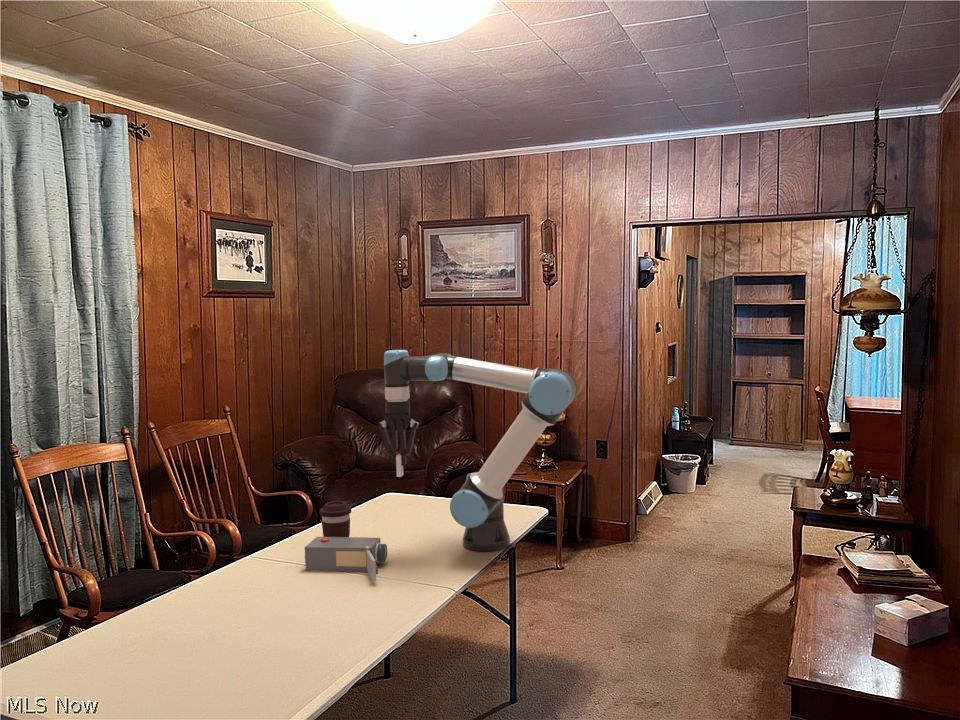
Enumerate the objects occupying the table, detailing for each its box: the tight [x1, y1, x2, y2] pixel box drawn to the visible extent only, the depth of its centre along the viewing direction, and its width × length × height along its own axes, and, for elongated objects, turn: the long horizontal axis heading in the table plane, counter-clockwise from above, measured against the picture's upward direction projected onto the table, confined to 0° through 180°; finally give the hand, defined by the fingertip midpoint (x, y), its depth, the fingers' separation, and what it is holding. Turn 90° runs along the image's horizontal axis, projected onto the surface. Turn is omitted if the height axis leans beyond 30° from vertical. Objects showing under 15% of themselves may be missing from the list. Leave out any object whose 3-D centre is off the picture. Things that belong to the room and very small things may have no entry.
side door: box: [366, 550, 379, 583], centre depth 202 cm, size 10×1×6 cm, turn 19°
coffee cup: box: [319, 500, 352, 537], centre depth 229 cm, size 10×10×15 cm
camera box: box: [304, 536, 388, 573], centre depth 213 cm, size 22×11×8 cm, turn 82°
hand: (400, 475), depth 223 cm, fingers closed
